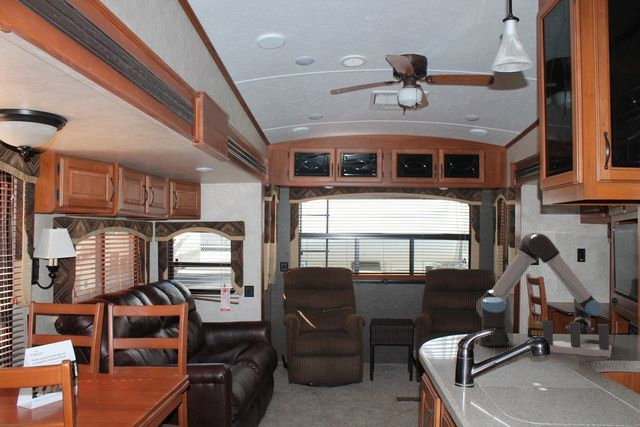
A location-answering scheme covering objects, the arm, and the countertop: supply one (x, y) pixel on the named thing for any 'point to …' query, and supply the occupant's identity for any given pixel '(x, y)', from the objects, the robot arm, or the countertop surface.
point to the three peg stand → (585, 348)
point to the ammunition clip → (537, 329)
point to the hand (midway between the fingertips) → (577, 333)
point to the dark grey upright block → (575, 334)
